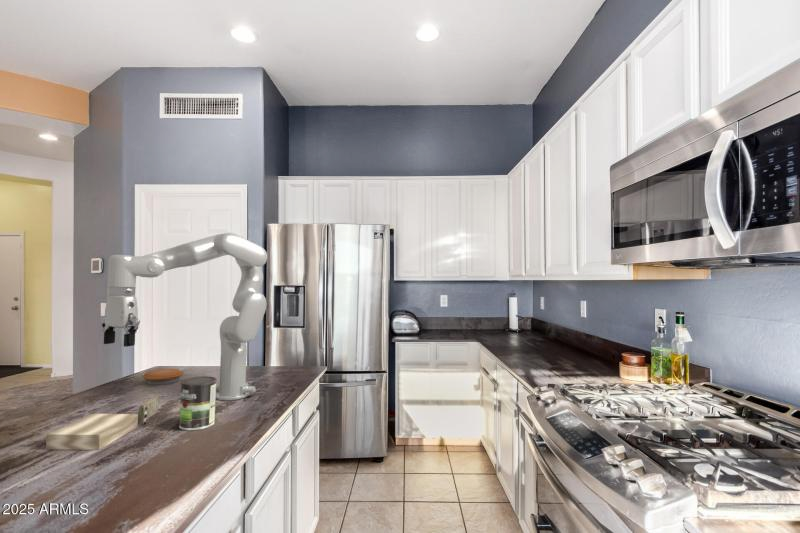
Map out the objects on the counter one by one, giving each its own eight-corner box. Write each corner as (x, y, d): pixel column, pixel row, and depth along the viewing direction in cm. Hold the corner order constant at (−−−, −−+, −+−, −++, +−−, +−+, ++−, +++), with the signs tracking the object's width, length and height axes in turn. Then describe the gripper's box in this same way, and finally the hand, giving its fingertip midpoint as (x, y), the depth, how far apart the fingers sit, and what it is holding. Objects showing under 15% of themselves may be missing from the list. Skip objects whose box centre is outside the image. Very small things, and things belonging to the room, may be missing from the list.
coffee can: (195, 433, 118) (197, 386, 118) (171, 427, 121) (173, 382, 122) (222, 421, 127) (224, 378, 128) (199, 416, 131) (200, 374, 131)
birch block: (137, 427, 121) (137, 414, 121) (98, 449, 105) (99, 434, 105) (91, 426, 120) (92, 413, 121) (45, 449, 104) (46, 434, 105)
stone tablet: (145, 407, 123) (163, 395, 135) (132, 407, 122) (151, 395, 134) (144, 425, 123) (162, 412, 134) (131, 425, 122) (150, 412, 134)
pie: (178, 376, 183) (178, 365, 183) (187, 383, 172) (187, 371, 172) (139, 381, 173) (139, 370, 173) (145, 389, 161) (146, 377, 161)
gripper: (150, 293, 128) (148, 345, 127) (116, 291, 134) (113, 341, 134) (127, 293, 121) (125, 348, 120) (92, 291, 127) (89, 344, 127)
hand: (119, 344), depth 127 cm, fingers open, 9 cm apart
